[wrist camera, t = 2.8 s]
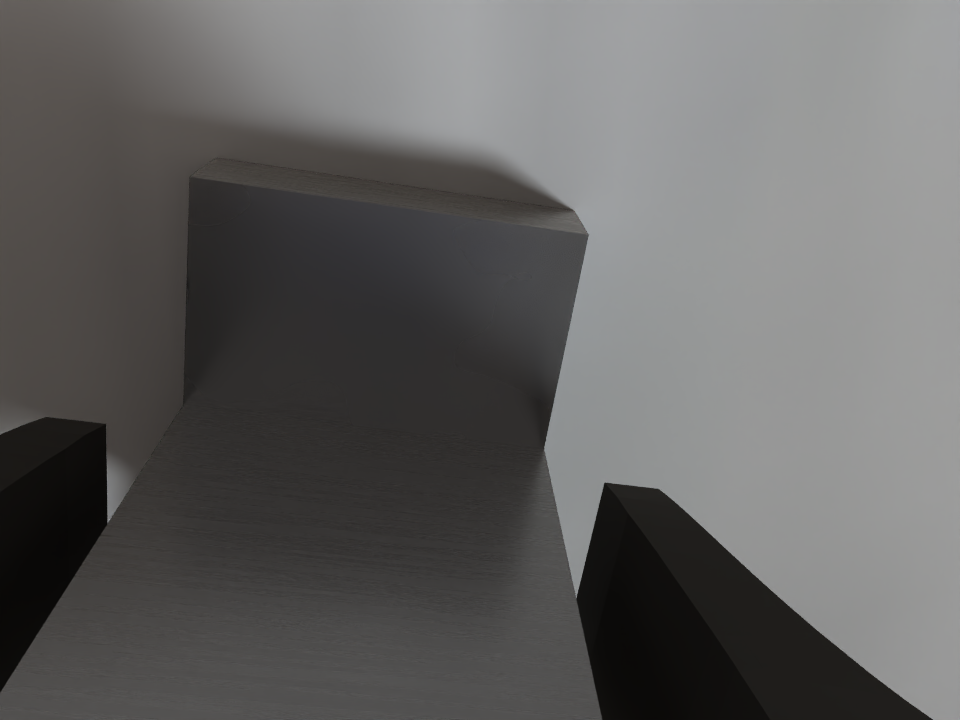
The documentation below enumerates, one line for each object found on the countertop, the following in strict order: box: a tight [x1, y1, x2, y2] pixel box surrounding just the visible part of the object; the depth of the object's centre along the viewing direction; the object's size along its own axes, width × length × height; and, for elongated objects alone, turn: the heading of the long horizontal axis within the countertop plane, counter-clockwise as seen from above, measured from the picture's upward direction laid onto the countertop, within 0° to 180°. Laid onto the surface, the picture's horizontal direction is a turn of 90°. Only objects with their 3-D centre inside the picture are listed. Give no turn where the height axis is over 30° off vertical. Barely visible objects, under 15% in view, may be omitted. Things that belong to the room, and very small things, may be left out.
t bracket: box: [0, 158, 602, 720], centre depth 8 cm, size 4×7×6 cm, turn 171°
